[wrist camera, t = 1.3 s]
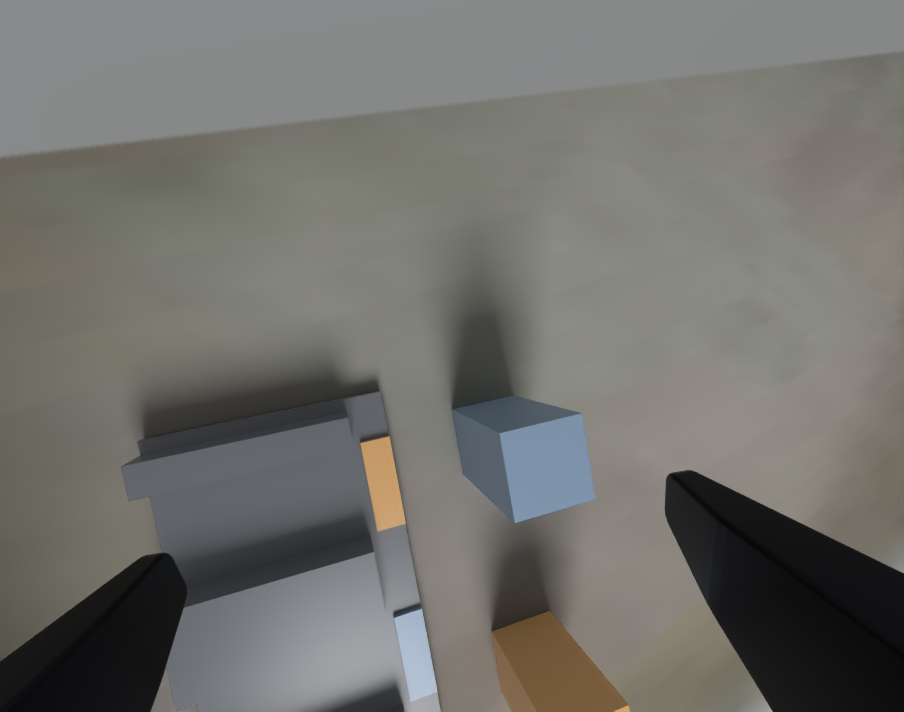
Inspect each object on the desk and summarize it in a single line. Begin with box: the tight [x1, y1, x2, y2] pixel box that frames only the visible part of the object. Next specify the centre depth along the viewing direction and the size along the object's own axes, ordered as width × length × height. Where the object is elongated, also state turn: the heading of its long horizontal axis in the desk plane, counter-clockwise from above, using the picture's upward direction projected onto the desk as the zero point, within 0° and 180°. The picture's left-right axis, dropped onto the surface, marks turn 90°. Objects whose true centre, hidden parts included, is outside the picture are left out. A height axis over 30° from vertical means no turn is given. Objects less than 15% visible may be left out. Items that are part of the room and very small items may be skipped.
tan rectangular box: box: [492, 611, 630, 712], centre depth 25 cm, size 4×4×8 cm
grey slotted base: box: [121, 390, 441, 712], centre depth 24 cm, size 20×12×3 cm, turn 10°
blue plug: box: [452, 396, 596, 523], centre depth 24 cm, size 4×4×8 cm
